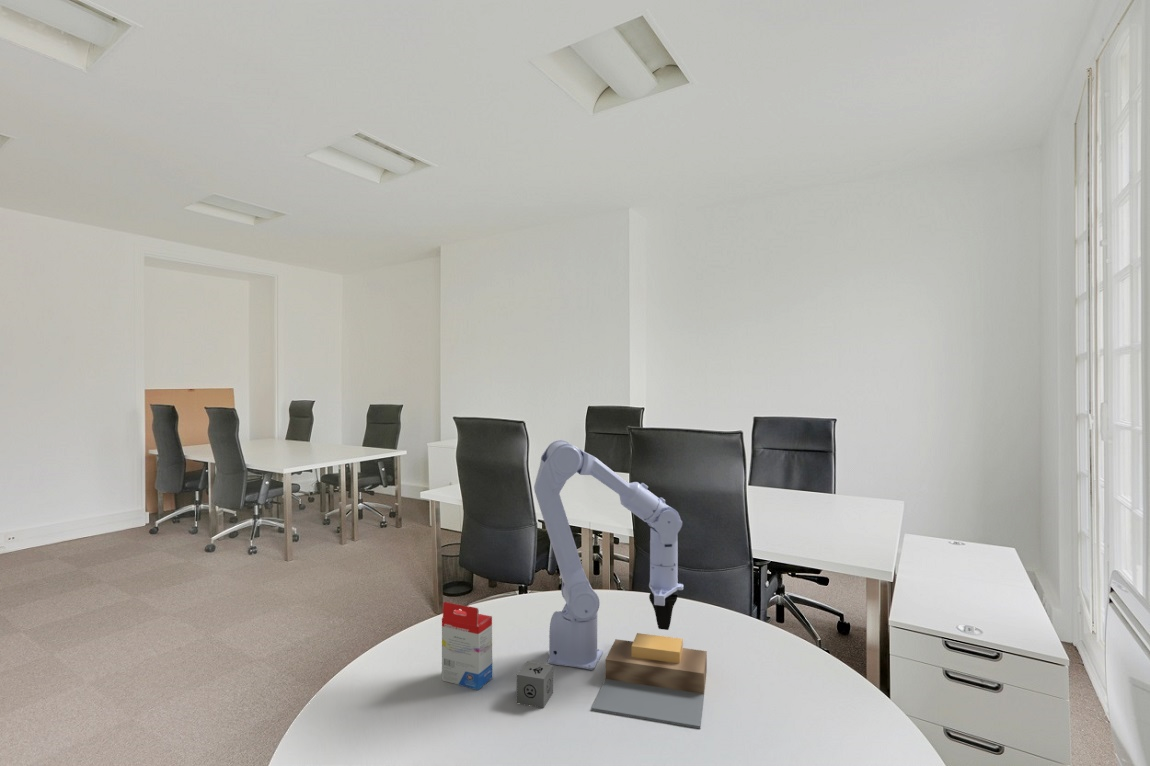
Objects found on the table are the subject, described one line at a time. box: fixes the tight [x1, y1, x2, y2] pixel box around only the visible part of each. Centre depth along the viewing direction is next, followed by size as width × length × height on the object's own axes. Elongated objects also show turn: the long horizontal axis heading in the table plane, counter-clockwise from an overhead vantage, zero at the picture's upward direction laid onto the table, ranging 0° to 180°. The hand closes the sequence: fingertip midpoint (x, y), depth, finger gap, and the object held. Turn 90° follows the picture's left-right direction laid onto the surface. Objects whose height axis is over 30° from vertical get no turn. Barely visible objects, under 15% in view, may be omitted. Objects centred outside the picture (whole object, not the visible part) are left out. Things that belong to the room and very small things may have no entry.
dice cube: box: [516, 660, 554, 709], centre depth 97 cm, size 5×5×5 cm
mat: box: [591, 678, 705, 729], centre depth 96 cm, size 18×11×1 cm, turn 74°
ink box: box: [441, 601, 493, 691], centre depth 103 cm, size 8×5×15 cm, turn 65°
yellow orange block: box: [632, 632, 684, 663], centre depth 106 cm, size 9×6×2 cm, turn 74°
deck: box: [604, 638, 708, 695], centre depth 105 cm, size 18×9×4 cm, turn 74°
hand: (663, 628), depth 115 cm, fingers closed
